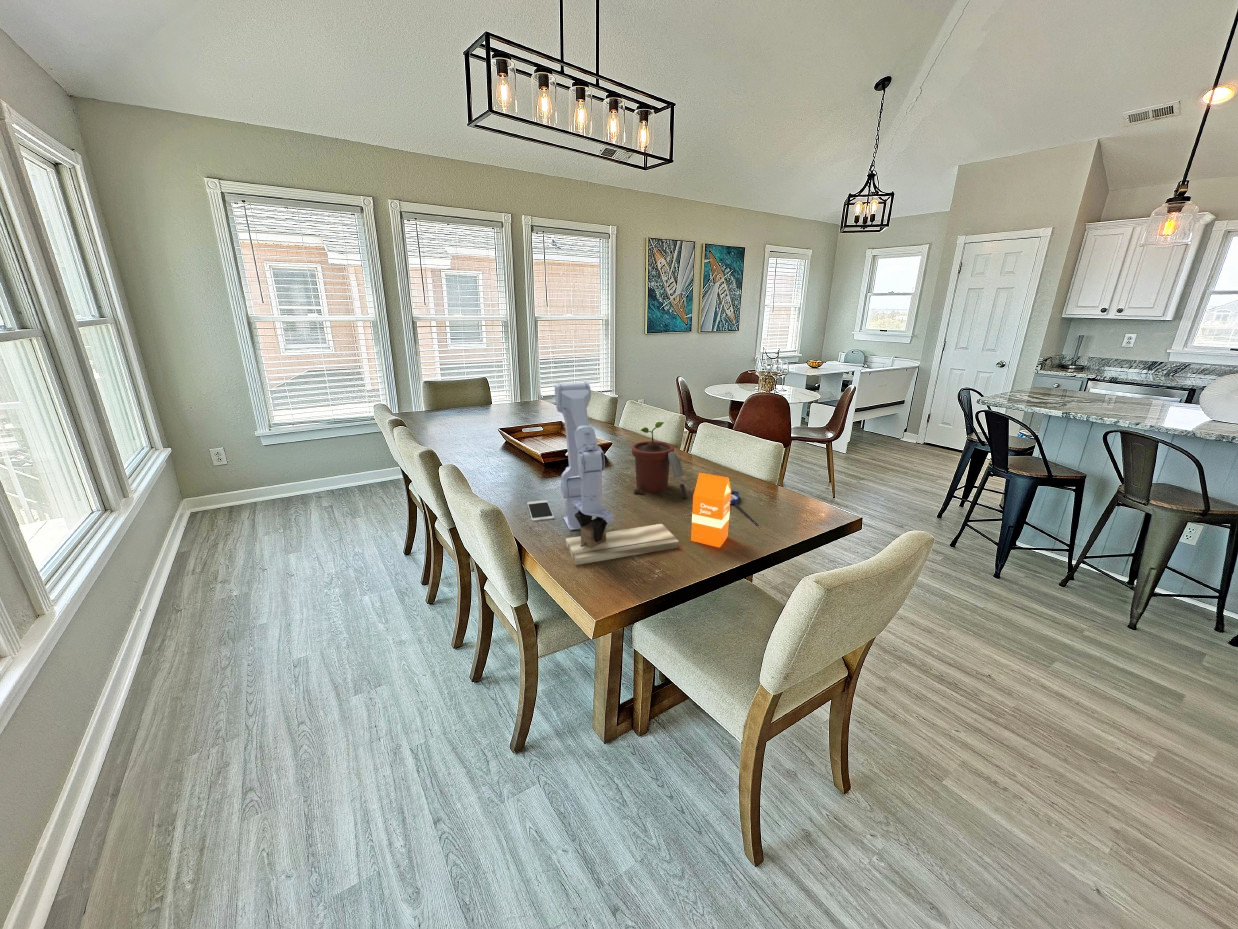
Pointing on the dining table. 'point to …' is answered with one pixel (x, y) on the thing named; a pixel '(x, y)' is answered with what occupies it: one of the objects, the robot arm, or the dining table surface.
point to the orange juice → (711, 510)
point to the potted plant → (655, 465)
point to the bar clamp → (734, 501)
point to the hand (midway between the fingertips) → (592, 538)
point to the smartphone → (540, 510)
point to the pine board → (623, 544)
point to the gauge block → (590, 536)
